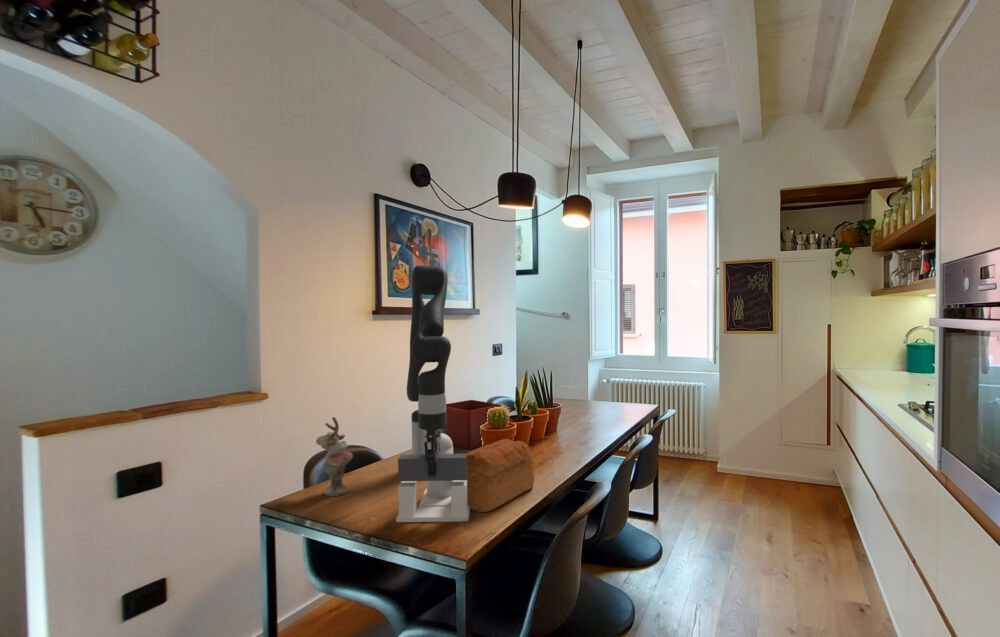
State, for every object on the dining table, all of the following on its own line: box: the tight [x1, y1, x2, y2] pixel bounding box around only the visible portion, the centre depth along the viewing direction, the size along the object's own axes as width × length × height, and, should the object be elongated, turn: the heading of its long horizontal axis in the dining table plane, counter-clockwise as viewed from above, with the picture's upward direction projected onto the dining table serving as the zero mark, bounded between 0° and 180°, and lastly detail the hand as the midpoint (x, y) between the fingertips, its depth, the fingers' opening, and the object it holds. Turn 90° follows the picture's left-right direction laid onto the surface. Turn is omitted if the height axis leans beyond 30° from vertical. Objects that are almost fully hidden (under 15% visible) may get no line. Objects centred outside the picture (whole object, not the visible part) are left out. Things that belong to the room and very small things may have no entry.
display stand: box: [395, 432, 471, 523], centre depth 142 cm, size 22×19×19 cm
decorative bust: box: [315, 416, 354, 497], centre depth 154 cm, size 11×13×25 cm
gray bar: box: [397, 453, 467, 482], centre depth 134 cm, size 18×4×6 cm, turn 90°
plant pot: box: [443, 399, 502, 450], centre depth 209 cm, size 19×19×17 cm
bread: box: [465, 438, 535, 513], centre depth 149 cm, size 14×27×15 cm, turn 145°
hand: (433, 473), depth 134 cm, fingers closed on gray bar, 4 cm apart
